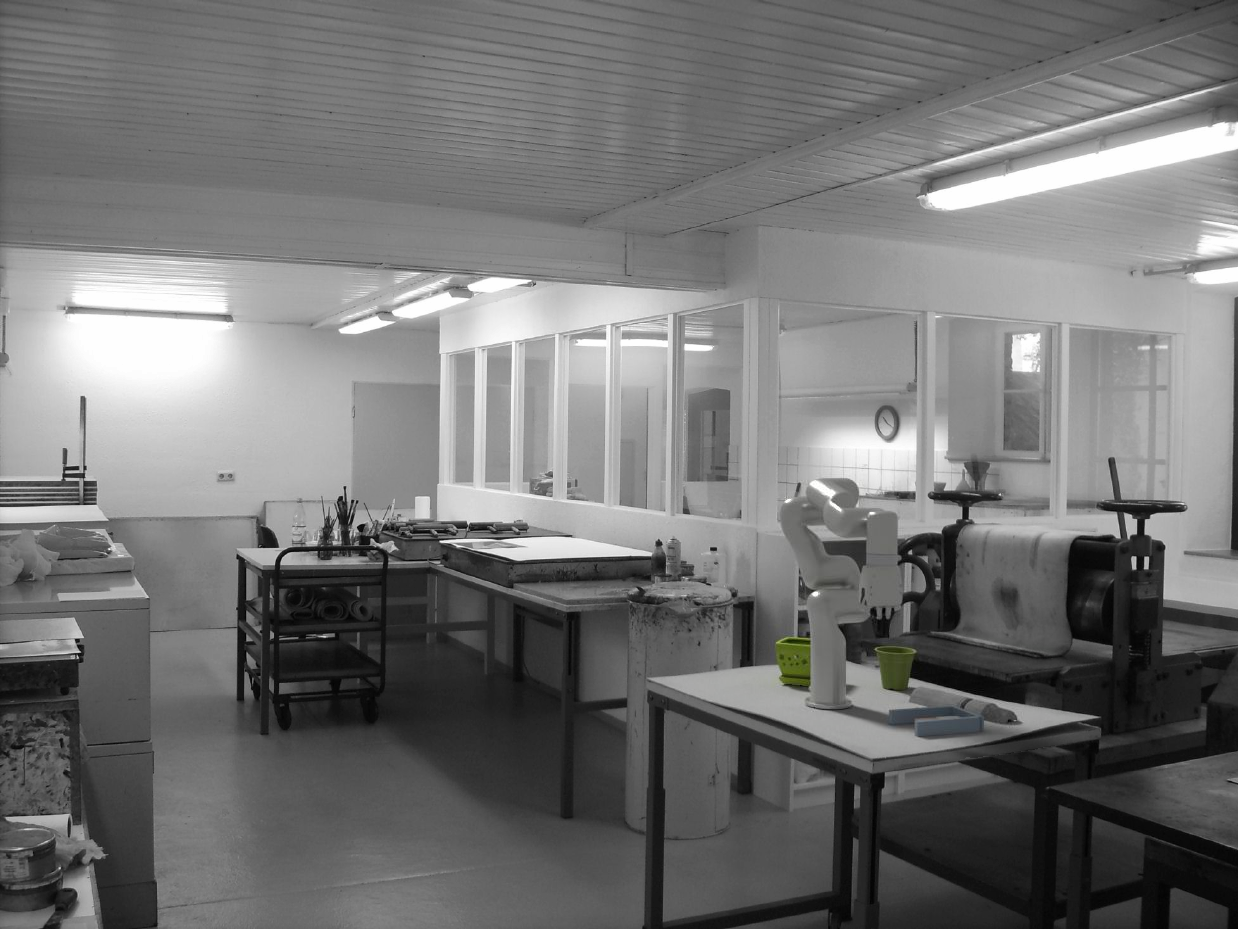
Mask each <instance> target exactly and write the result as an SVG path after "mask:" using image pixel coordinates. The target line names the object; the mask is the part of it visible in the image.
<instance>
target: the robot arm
mask: <svg viewBox="0 0 1238 929" xmlns="http://www.w3.org/2000/svg"><path fill="white" fill-rule="evenodd" d="M858 486H859V485H857V483H856V482H855V481H854V480H852V479H850V478H847V477H821V478H816V479H813V480H812V481H810V483H808V484H807V486H806V489H805V496H804V495H803V496H793V497H790V498H788V499H786V500H784V501H782V503H781V506H780V507H779V508H780V509H779V521H780V526H781V529H782V532H783V534H784V536H785V538H786V540H787V542H788V543H789V545H790V547H791V549H792V550H793V554H794V556H795V559H796V563H797V565H798V569H799V571H800V574H801V577H802V580H803V583H804V584H805V586H806V587H807V588H808V589H810V590H813V592H811V593H810V594H809V595H808V597H807V600H806V610H807V616H808V621H809V634H810V638H809V639H811V686H808V691H810V696H808V697H806V698H805V699H804V704H805V705H806V706H808V707H810V708H814V707H815V709H823V710H843V709H849V708H850V707H852V705H853V702H852V700H851V699H850V698H847V641H846V637H845V635H844V634H843V632H842V631H841V629H840V627H839V625H841V624H854V623H863V622H865V621H868V619H869V618H870V616H871V617H872V618H873V631H874V634H875V635H878V636H888V630H889V626H888V625H889V619H891V615H892V614H894V613H895V612H897V611H899V610H901V609H902V603H903V580H902V573H901V568H900V566H899V565H898V563H899V562H901V560H902V555H900V554H899V553H898V547H899V546H898V536H899V535H898V534H899V533H898V532H899V530H898V529H899V528H898V527H899V517H898V515H897V513H896V512H895V511H892V510H886V509H882V508H879V507H856V506H857V504H858V502H859V500H860V489H859V487H858ZM811 526H812V527H817V526H818V527H819V526H821V527H823V526H825V528H827V530H828V531H830V532H831V533H832V534H834V535H836V536H837V537H840V538H846V539H854V538H856V539H857V538H858V539H859V538H866V540H865V541H866V545H865V546H866V548H865V550H866V552H865V554H866V555H865V557H866V559H865V565H862V568H861V570H860V568H859V565H858V564H857V563H856V562H857V561H855V560H854V559H853V558H852V557H850V556H849V555H848V556H847V555H842V554H841V555H840V554H838V555H837V554H836V555H835V554H834V555H831V554H828V553H827V551H826V549H825V546H824V542H823V541H822V539H821V538H820V537H819V536H818V535H817V534H816V533H815V532H814V531H812V530H811V529H810V528H809V527H811Z"/></svg>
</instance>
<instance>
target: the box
mask: <svg viewBox="0 0 1238 929" xmlns="http://www.w3.org/2000/svg"><path fill="white" fill-rule="evenodd" d="M944 716H959V718H947V719H934V720H921V721H915V719H918V718H936V717H944ZM888 724H889V725H892V726H893V725H907V724H908V725H909V724H914V736H916V737H928V736H941V735H953V734H965V733H975V732H976V733H977V732H984V731H985V720H984V717H983V716H980V715H978V714H975V713H972V712H970V711H967V710H964V709H962V708H959V707H957V706H954V705H949V706H935V707H926V706H923V707H913V708H912V707H910V708H908V707H907V708H896V709H889V710H888Z"/></svg>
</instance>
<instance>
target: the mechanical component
mask: <svg viewBox="0 0 1238 929" xmlns="http://www.w3.org/2000/svg"><path fill="white" fill-rule="evenodd" d="M908 703H912V704H915V705H919V706H923V707H935V706H949V705H954V706H957V707H959V708H962V709H964V710H967V711H970V712H972V713H975V714H978V715H980V716H983V717H984V722H985V721H986V722H989V723H994V724H998V723H999V725H1004V724H1003V723H1005V724H1007V723H1008V722H1011V721H1014V720H1019V718H1018V717H1017V715H1016V713H1015V712H1014V711H1012V710H1010V709H1006V708H1003V707H999V705H997V704H996V703H993V702H989V701H984V700H980V699H974V698H973V697H967V696H964V695H961V694H960V695H959V694H955V693H951V692H946V691H942V690H937V689H934V688H929V687H927V686H918V687H916V688H914V689H913V691H912V692H911V693H910V695H909V699H908ZM1008 720H1010V721H1008Z"/></svg>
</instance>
